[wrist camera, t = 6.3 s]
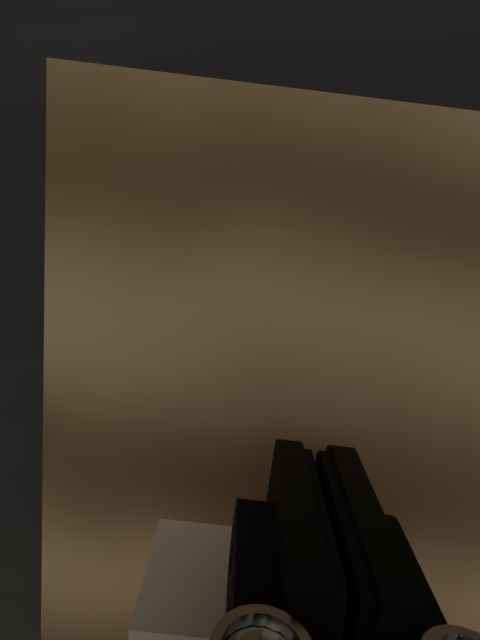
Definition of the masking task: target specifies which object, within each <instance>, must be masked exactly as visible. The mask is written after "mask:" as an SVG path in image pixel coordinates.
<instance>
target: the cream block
mask: <svg viewBox="0 0 480 640" xmlns="http://www.w3.org/2000/svg"><path fill="white" fill-rule="evenodd" d="M231 533H232V526H224V525H215V524H206V523H197V522H188V521H178V520H169V519H160V520H159V524H158V528H157V531H156V535H155V538H154V542H153V545H152V549H151V553H150V556H149V560H148V563H147V567H146V571H145V574H144V578H143V581H142V585H141V589H140V592H139V596H138V599H137V603H136V607H135V610H134V614H133V617H132V621H131V625H130V628H129V636H128V640H209V639H210V636H211V634H212V632H213V630H214V627H215V625H216V623H217V622H218V621H219V620H220V619H221V618H222V617H223V616H224V615H225V614H226V597H227V578H228V564H229V552H230V542H231Z"/></svg>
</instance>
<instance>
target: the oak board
mask: <svg viewBox="0 0 480 640" xmlns="http://www.w3.org/2000/svg"><path fill="white" fill-rule="evenodd" d="M276 439H282V440H291V441H300V442H302V443H303V447H304V449H311V450H312V453H313V457H314V461H315V460H316V455H317V452H318V450H320V451H326V448H327V446H328V445H336V446H345V447H353V448H355V449H356V451H357V453H358V455H359V458H360V460H361V462H362V464H363V467H364V469H365V471H366V474H367V476H368V478H369V480H370V483H371V485H372V487H373V489H374V492H375V494H376V496H377V498H378V501H379V503H380V505H381V507H382V510H383V512H384V514H387V515H393V516H395V517H396V518H397V520H398V521H399V523H400V525H401V527H402V529H403V531H404V533H405V536H406V538H407V540H408V542H409V544H410V546H411V548H412V550H413V552H414V554H415V556H416V559H417V561H418V563H419V565H420V567H421V569H422V571H423V573H424V575H425V577H426V580H427V582H428V584H429V586H430V588H431V590H432V592H433V594H434V596H435V598H436V601H437V603H438V605H439V607H440V609H441V611H442V613H443V615H444V617H445V619H446V621H447V624H448V625H456V626H462V627H465V628H467V629H470V630H473V631H476V632H478V633H480V111H475V110H467V109H458V108H450V107H442V106H434V105H426V104H418V103H410V102H402V101H394V100H386V99H378V98H370V97H362V96H354V95H345V94H337V93H329V92H321V91H313V90H305V89H297V88H289V87H281V86H273V85H265V84H257V83H249V82H240V81H232V80H224V79H216V78H208V77H200V76H192V75H184V74H176V73H168V72H160V71H152V70H144V69H136V68H127V67H119V66H111V65H103V64H95V63H87V62H79V61H71V60H63V59H55V58H47V80H46V182H45V283H44V385H43V487H42V589H41V640H128V636H129V628H130V625H131V621H132V617H133V614H134V610H135V607H136V603H137V599H138V596H139V592H140V589H141V585H142V581H143V578H144V574H145V571H146V567H147V563H148V560H149V556H150V553H151V549H152V545H153V542H154V538H155V535H156V531H157V528H158V524H159V520H160V519H169V520H178V521H188V522H197V523H206V524H215V525H224V526H232V525H233V518H234V510H235V503H236V499H237V498H242V499H251V500H260V501H266V500H267V493H268V486H269V480H270V473H271V466H272V459H273V453H274V446H275V442H276Z"/></svg>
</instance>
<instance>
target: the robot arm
mask: <svg viewBox="0 0 480 640" xmlns="http://www.w3.org/2000/svg"><path fill="white" fill-rule="evenodd" d="M209 640H480V633H478V632H476V631H473V630H470V629H467V628H465V627H462V626H456V625H448V624H447V621H446V619H445V617H444V615H443V613H442V611H441V609H440V607H439V605H438V603H437V601H436V598H435V596H434V594H433V592H432V590H431V588H430V586H429V584H428V582H427V580H426V577H425V575H424V573H423V571H422V569H421V567H420V565H419V563H418V561H417V559H416V556H415V554H414V552H413V550H412V548H411V546H410V544H409V542H408V540H407V538H406V536H405V533H404V531H403V529H402V527H401V525H400V523H399V521H398V520H397V518H396V517H395V516H393V515H387V514H384V512H383V510H382V507H381V505H380V503H379V501H378V498H377V496H376V494H375V492H374V489H373V487H372V485H371V483H370V480H369V478H368V476H367V474H366V471H365V469H364V467H363V464H362V462H361V460H360V458H359V455H358V453H357V451H356V449H355V448H353V447H345V446H336V445H328V446H327V448H326V451H320V450H318V452H317V455H316V460H315V461H314V457H313V453H312V450H311V449H304V447H303V443H302V442H300V441H291V440H282V439H276V442H275V446H274V453H273V459H272V466H271V473H270V480H269V486H268V493H267V500H266V501H260V500H251V499H242V498H237V499H236V503H235V510H234V518H233V525H232V533H231V542H230V552H229V564H228V578H227V597H226V614H225V615H224V616H223V617H222V618H221V619H220V620H219V621H218V622H217V623H216V625H215V627H214V630H213V632H212V634H211V636H210V639H209Z"/></svg>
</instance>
